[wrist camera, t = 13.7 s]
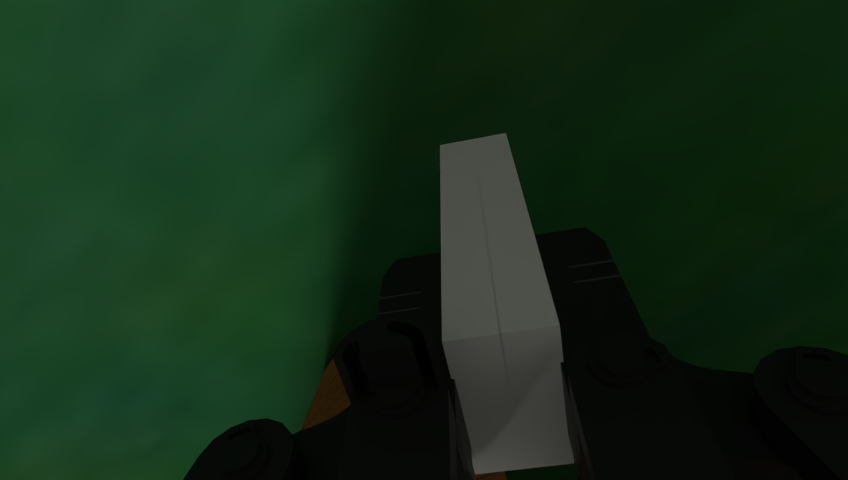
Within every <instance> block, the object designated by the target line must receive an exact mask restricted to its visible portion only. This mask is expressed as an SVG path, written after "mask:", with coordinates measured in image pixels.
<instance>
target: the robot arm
mask: <svg viewBox="0 0 848 480" xmlns="http://www.w3.org/2000/svg"><path fill="white" fill-rule="evenodd" d="M440 201H441V253H435V254H429V255H423V256H416V257H410V258H404V259H398V260H395V262H394V263H393V264H392V266H391V267H390V269H389V270H388V271H387V273H386V274H385V275H384V277H383V281H382V288H381V295H380V297H381V300H380V302H379V309H378V313H379V315H378V316H377V319H375V320H371V321H368V322H366V323H365V324H363V325H361V326H359V327H357V328H356V329H354V330H352V331H351V332H350V333H349V334H348V335H347V336H346V337H345V338H344V339H343V340H342V341H341V342H340V343H339V345H338V347H337V349H336V351H335V353H334V355H333V360H334V362H335V365H336V367H337V370H338V372H339V375H340V378H341V380H342V383H343V385H344V388H345V390H346V393H347V396H348V398H349V401H350V406H349V407H347V408H346V409H345V410H343V411H342V412H341V413H339V414H338V415H336V416H334V417H332V418H330V419H328V420H326V421H324V422H322V423H319V424H317V425H314V426H312V427H309V428H307V429H304V430H302V431H299V432H297V433H294V434H291V432H290V431H289V430H288V429H287V428H286V427H285V426H284V425H283V424H282V423H280V422H277V421H274V420H270V419H258V420H249V421H246V422H244V423H241V424H239V425H236V426H234V427H231V428H229V429H228V430H227V431H225V432H224V433H222V434H221V435H220V436H218V437H217V438H215V439H214V440H213V441H212V442H211V443H210V444H209V445H208V446H207V448H206V449H205V450H204V451H203V452H202V453H201V454H200V456H199V457H198V458H197V460H196V461H195V463H194V464H193V466H192V467H191V469H190V470H189V472H188V473H187V475H186V476H185V478H184V479H183V480H473V468H474V472H475V474H484V473H493V472H502V471H511V470H520V469H529V468H538V467H547V466H556V465H565V464H573V463H574V461H575V465H576V469H577V473H578V480H848V355H846V354H842V353H839V352H836V351H833V350H829V349H826V348H815V347H804V346H798V347H791V348H785V349H779V350H776V351H775V352H773V353H771V354H769V355H767V356H766V357H764V358H762V359H761V361H760V362H759V364H758V366H757V367H756V369H755V371H754V374H751V373H742V372H733V371H723V370H714V369H709V368H703V367H698V366H694V365H691V364H688V363H685V362H683V361H680V360H678V359H676V358H674V357H673V355H672V354H671V353H670V352H669V351H668V349H667V348H666V347H665V346H664V345H662V344H660V343H659V342H657V341H655V340H654V339H652V338H651V337H650V336H649V334H648V332H647V330H646V328H645V326H644V324H643V322H642V320H641V317H640V315H639V313H638V311H637V309H636V307H635V305H634V303H633V301H632V298H631V296H630V294H629V292H628V290H627V288H626V286H625V284H624V282H623V279H622V277H620V274H619V271H618V269H617V267H616V265H615V263H614V262H613V259H612V256H611V254H610V252H609V250H608V248H607V246H606V244H605V242H604V240H603V239H601V238H600V237H598V236H597V235H595V234H594V233H593V232H591V231H590V230H588V229H587V228H585V227H584V228H578V229H571V230H565V231H559V232H553V233H547V234H541V235H534V231H533V228H532V224H531V221H530V217H529V214H528V210H527V207H526V203H525V199H524V196H523V192H522V189H521V185H520V182H519V178H518V174H517V171H516V167H515V164H514V160H513V157H512V153H511V150H510V146H509V142H508V139H507V135H506V133H503V134H497V135H492V136H487V137H481V138H476V139H470V140H465V141H460V142H454V143H449V144H443V145H440ZM472 464H473V468H472Z"/></svg>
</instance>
